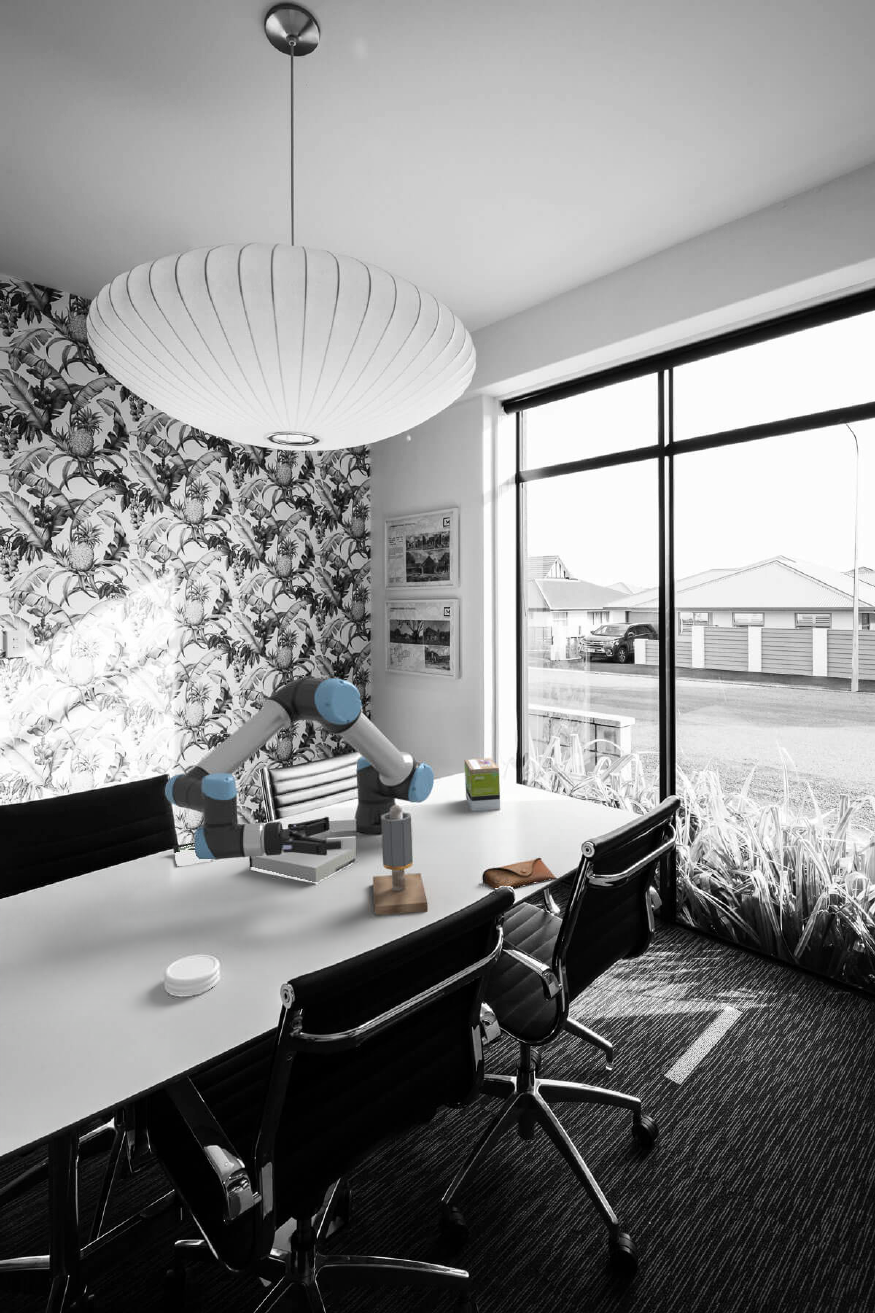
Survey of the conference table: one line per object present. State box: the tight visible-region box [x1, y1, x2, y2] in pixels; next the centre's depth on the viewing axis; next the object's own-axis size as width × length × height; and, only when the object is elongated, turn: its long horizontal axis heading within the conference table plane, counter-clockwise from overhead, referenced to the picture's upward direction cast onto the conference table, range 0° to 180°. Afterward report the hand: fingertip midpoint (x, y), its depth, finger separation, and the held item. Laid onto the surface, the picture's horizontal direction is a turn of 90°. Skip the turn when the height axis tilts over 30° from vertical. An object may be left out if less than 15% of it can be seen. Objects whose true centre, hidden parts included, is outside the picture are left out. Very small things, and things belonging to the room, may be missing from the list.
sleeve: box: [381, 811, 414, 867], centre depth 171 cm, size 7×7×11 cm
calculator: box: [172, 841, 195, 854], centre depth 204 cm, size 9×12×3 cm
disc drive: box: [248, 848, 357, 882], centre depth 194 cm, size 18×22×5 cm
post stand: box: [372, 804, 429, 916], centre depth 171 cm, size 12×18×22 cm, turn 6°
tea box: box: [464, 757, 501, 812], centre depth 248 cm, size 15×10×15 cm, turn 6°
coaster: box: [163, 954, 221, 995], centre depth 135 cm, size 10×10×4 cm
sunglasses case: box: [481, 857, 557, 890], centre depth 181 cm, size 18×7×7 cm, turn 118°
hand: (356, 833), depth 170 cm, fingers open, 13 cm apart
